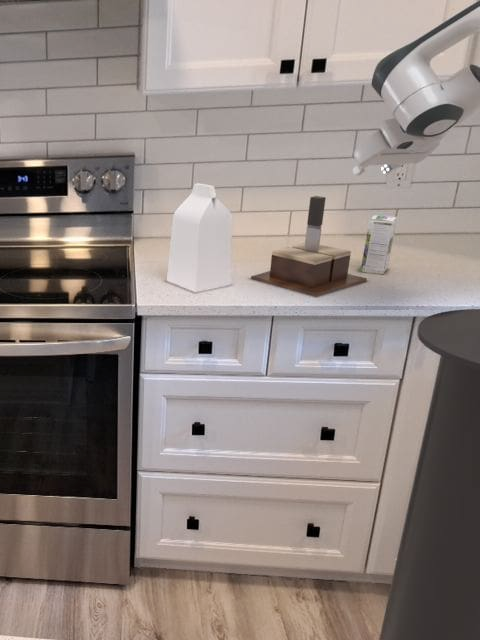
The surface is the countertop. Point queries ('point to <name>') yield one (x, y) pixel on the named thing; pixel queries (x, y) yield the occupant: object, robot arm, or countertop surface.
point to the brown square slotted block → (310, 270)
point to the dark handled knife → (314, 223)
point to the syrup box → (378, 244)
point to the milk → (201, 242)
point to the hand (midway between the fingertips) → (369, 172)
